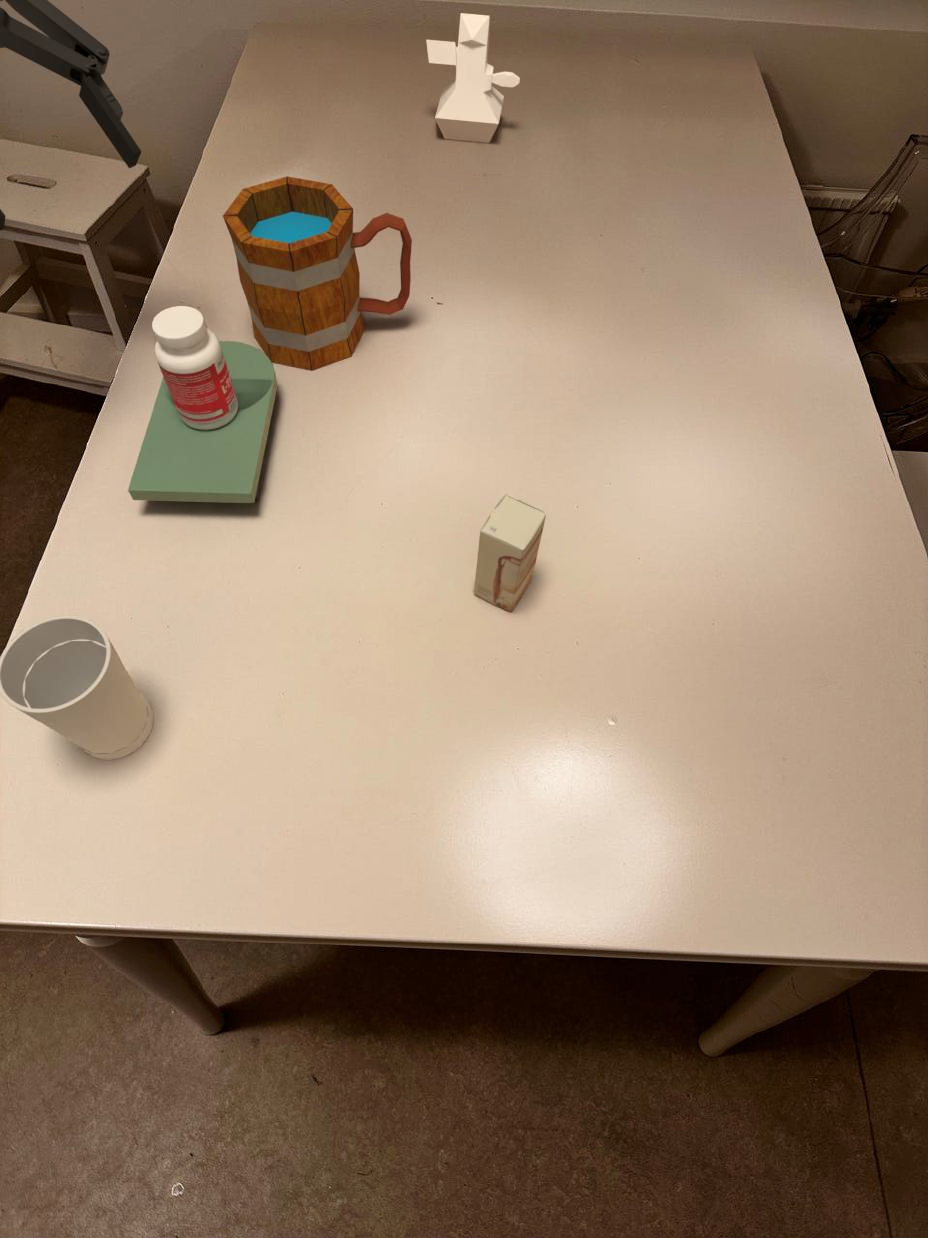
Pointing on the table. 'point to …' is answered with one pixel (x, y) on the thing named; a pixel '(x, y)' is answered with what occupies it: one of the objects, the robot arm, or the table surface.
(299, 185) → the mug
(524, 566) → the small juice carton
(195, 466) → the green rounded-end slab
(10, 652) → the cup
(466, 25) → the white low-poly figurine
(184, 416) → the pill bottle
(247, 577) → the table surface
